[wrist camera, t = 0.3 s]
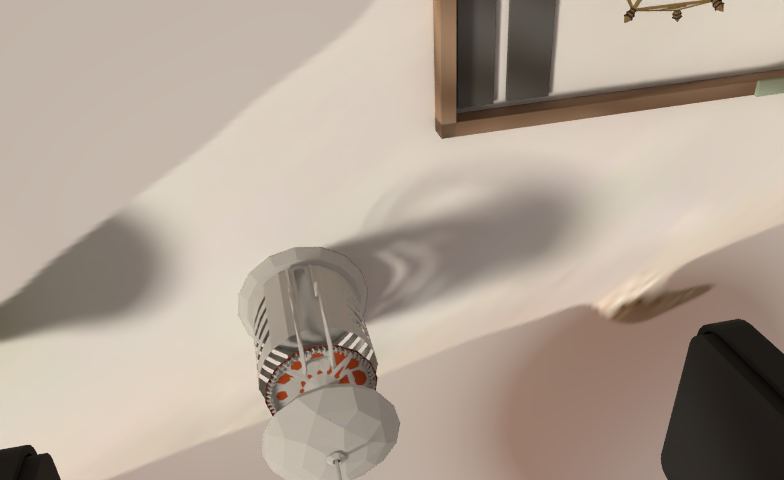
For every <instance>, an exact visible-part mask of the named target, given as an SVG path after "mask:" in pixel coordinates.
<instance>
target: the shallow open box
mask: <svg viewBox="0 0 784 480" xmlns="http://www.w3.org/2000/svg"><path fill="white" fill-rule="evenodd" d="M555 1H556V0H510V2H509V27H508V52H507V77H506V101H507V102H508V101H515V100H523V99H530V98H538V97H545V96H548V95H549V81H550V68H551V55H552V41H553V28H554V14H555ZM433 8H434V68H435V127H436V132H437V133H438V134H439V136H440V137H441V138H442V139H443V138H450V137H457V136H464V135H472V134H479V133H486V132H493V131H500V130H507V129H514V128H521V127H528V126H535V125H542V124H550V123H557V122H564V121H571V120H578V119H585V118H592V117H599V116H606V115H613V114H620V113H628V112H635V111H642V110H649V109H656V108H663V107H670V106H677V105H684V104H691V103H698V102H706V101H713V100H720V99H727V98H734V97H741V96H748V95H755V96H757V97H758V96H765V95H772V94H779V93H784V69H783V70H776V71H769V72H761V73H754V74H746V75H739V76H732V77H724V78H717V79H709V80H702V81H695V82H687V83H680V84H672V85H665V86H658V87H650V88H643V89H635V90H628V91H621V92H613V93H606V94H598V95H591V96H584V97H576V98H569V99H561V100H554V101H547V102H539V103H532V104H524V105H517V106H510V107H502V108H495V109H487V110H480V111H472V112H465V113H458V114H456V0H433ZM495 29H496V0H457V108H463V107H470V106H478V105H485V104H493V95H494V62H495Z"/></svg>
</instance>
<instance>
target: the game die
mask: <svg viewBox="0 0 784 480" xmlns="http://www.w3.org/2000/svg"><path fill="white" fill-rule="evenodd" d="M627 1H628V3H629V5H630V7H631V9H630V10H629V11H627V12H626V15H624V16H625V19H624V23H626V22H628V21H630V20H633V19H632V18H633V17H635V15H634V14H635V12H636V11H674V12H673V14H672V15H673V17H672V18H673V19H675V20H676V21H677V22H678V21H679V19H680V18H681V17H682V15H681V14H682V13H681V11H680V10H682V9H686V8H690V7H694V6H697V5H701V4H705V3H709V2H712V3H713V7H714V8H715V11H716V10H718V11H722V12H723V7H724V3H722V0H627Z"/></svg>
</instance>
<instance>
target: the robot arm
mask: <svg viewBox="0 0 784 480" xmlns="http://www.w3.org/2000/svg"><path fill="white" fill-rule="evenodd" d="M661 464H662V468H663V471H664V473H665V475H666V477H667V479H668V480H784V354H783V353H782V352H781V351H780V350H779V349H778V348H776V347H775V346H774V345H773V344H772V343H771V342H770V341H769V340H768V339H766V338H765V337H764V336H763V335H762V334H761V333H760V332H759V331H757V330H756V329H755V328H754V327H753V326H752V325H751V324H749V323H747V322H746V321H745V320H741V319H735V320H730V321H724V322H719V323H713V324H707V325H703V326H702V327H701V328H700V329H699V331H698V334H697V336H695V337H693V338H692V340H691V342H690V344H689V348H688V353H687V356H686V360H685V364H684V368H683V372H682V376H681V380H680V384H679V387H678V391H677V395H676V399H675V403H674V407H673V411H672V414H671V419H670V422H669V426H668V430H667V434H666V438H665V442H664V446H663V450H662V453H661ZM0 480H61V479H60V477H59V474H58V472H57V469H56V467H55V464H54V462H53V459H52V457H51V456H50V455H49V454H48V453H44V454H38V455H37V453H36V451H35V449H34V448H33V447H32V446H31V445H24V446H19V447H13V448H7V449H2V450H0Z"/></svg>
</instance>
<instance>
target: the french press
mask: <svg viewBox="0 0 784 480" xmlns="http://www.w3.org/2000/svg"><path fill="white" fill-rule="evenodd" d="M367 293H368V289H367V286H366V284H365V281H364V278H363V275H362V273H361V271H360V270H359V269H358V268H357V267H356V266H355V265H354V264H353V263H352V262H351V261H350V260H349V259H348V258H347V257H345V256H344V255H341V254H339V253H336V252H333V251H330V250H327V249H325V248H322V247H308V248H292V249H290V250H287V251H284V252H281V253H278V254H276V255H273V256H270V257H268V258H267V259H266V260H265V261H264V262H262V263H261V264H260V265H259V266H258V267H256V268H255V269H254V270H253V271H251V272H250V273H249V275H248V277H247V279H246V281H245V283H244V285H243V287H242V288H241V290H240V292H239V306H238V316H239V317H240V319H241V321H242V323H243V325H244V327H245V329H246V331H247V333H248V334H249V335H250V336H252V337H253V338H254V344H255V353H256V364H257V359H258V360H259V362H258V364H257V370H258V384H259V390H260V391H261V393H262V394H263V396H264V398H265V403H266V405H267V406H268V408H269V410H270V412H271V414H272V416H273V418H272V420H271V422H270V423H269V425H268V427H267V428H266V430H265V432H264V434H263V450H262V454H263V456H264V458H265V460H266V461H267V463H268V465H269V467H270V468H271V470H272V471H273V472H275V473H276V474H278V475H279V476H281V477H283V478H284V479H286V480H352V479H355V478H357V477H360V476H362V475H364V474H365V473H367V472H368V471H370V470H371V469H372V468H374V467H375V466H377V465H378V464H379V463H381V462H382V461H383V460H384V459H385V458H386V456H387V455H388V453H389V452H390V451H391V449H392V448H393V446H394V445H395V444H396V441H397V437H398V431H399V426H400V422H399V419H398V416H397V414H396V410H395V408H394V405H392V404H391V403H390V402H389V401H388V400H386V399H385V398H384V397H383V396H382V395H380V394H379V393H378V392H377V391H376V385H377V376H376V370H377V365H378V363H377V359H376V356H375V353H374V352H373V354H372V356H371V358H370V360H367V359H366V357H367V355H368V353H369V351H370V349H372V350H373V347H372V343H371V340H369V339H370V338H369V339H368V337H367V336H369V335H368V331H367V328H365V327H366V325H365V327H364V324H365V322H364V319H363V316H362V315H363V313H364V312H365V309H366V301H367ZM360 319H361V320H362V321H360ZM357 323H359V324H360V325H359V326H358V325H357ZM362 329H364V331H365V333H364V332H363V331H362ZM350 332H351V333H354V334H353V335H352V336H351V337H350V339H349V340H348V341H347V342H346V343H345V344H344V345H343V346H339V345H338V344H339V343H340V342H341V341H342V340H343V339H344V338H345V337H346V336H347V335H348V334H349V333H350ZM358 336H359V337H360V338H361V340H360V341H359V342H358V343H357V344H356V346H355V347H354V348H353V349H349V348H348V347H349V346H350V345H351V344H352V343H353V342H354V341H355V339H356V338H357V337H358ZM257 341H258V342H259V344H258V343H257ZM365 342H366V343H367V344H368V346H367V347H366V348H365V350H364V351H363V352H362V354H360V353H359V352H358V350H359V349H360V348H361V347H362V346H363V345H364V343H365ZM261 345H264V347H262V346H261ZM256 347H257V351H256ZM273 349H274V350H276V351H279V352H281V353H284V354H286V355H288V358H287V359H285V358H283V357H280V356H278V355H275V354H273V353H271V351H272V350H273ZM260 351H261V355H259V352H260ZM373 351H374V350H373ZM267 356H268V357H270V358H272V359H274V360H275V361H278V362H281V364H280V365H278V366H277V365H275V364H273V363H271V362H269V361H267V360H266V358H267ZM263 364H264V365H265V366H267V367H269V368H271V369H273V370H274V372H273V374H271V373H269V372H267V371H266V370H264V369H263V368H262V366H263ZM260 373H261V374H262V375H263V376H265V377H267V378H268V379H269V381H268V383H266V382H264V381H263V380H262V379H260V378H259V374H260Z"/></svg>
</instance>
